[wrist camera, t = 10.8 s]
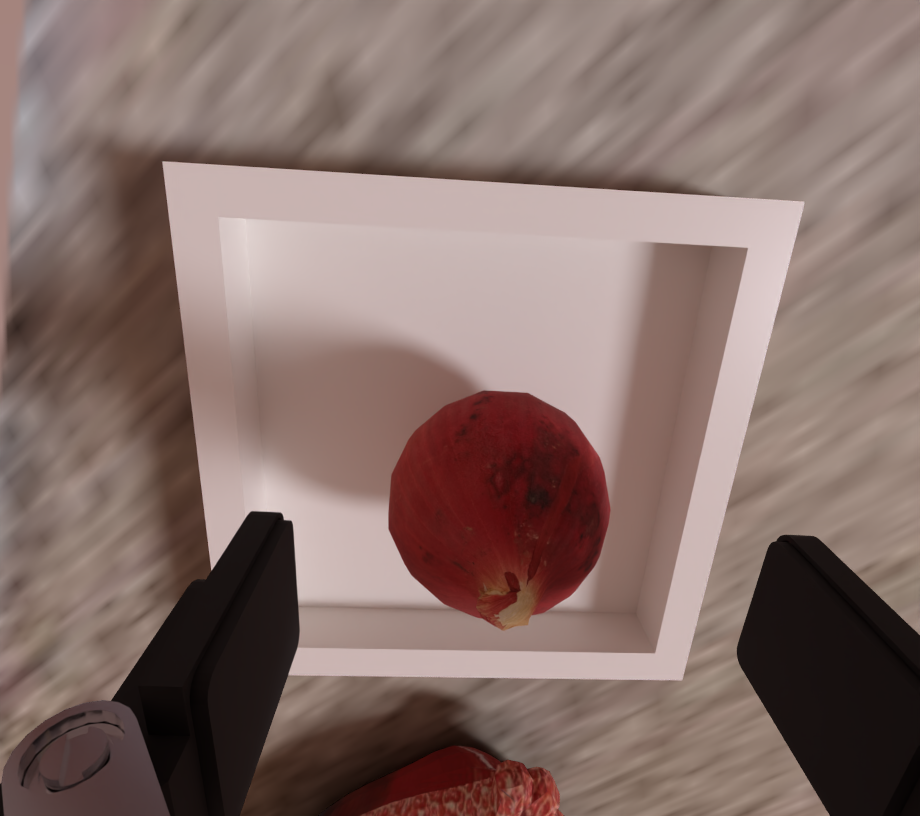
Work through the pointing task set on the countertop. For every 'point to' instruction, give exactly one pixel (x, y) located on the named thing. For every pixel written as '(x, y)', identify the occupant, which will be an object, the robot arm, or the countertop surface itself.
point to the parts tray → (471, 389)
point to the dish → (455, 789)
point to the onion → (499, 506)
